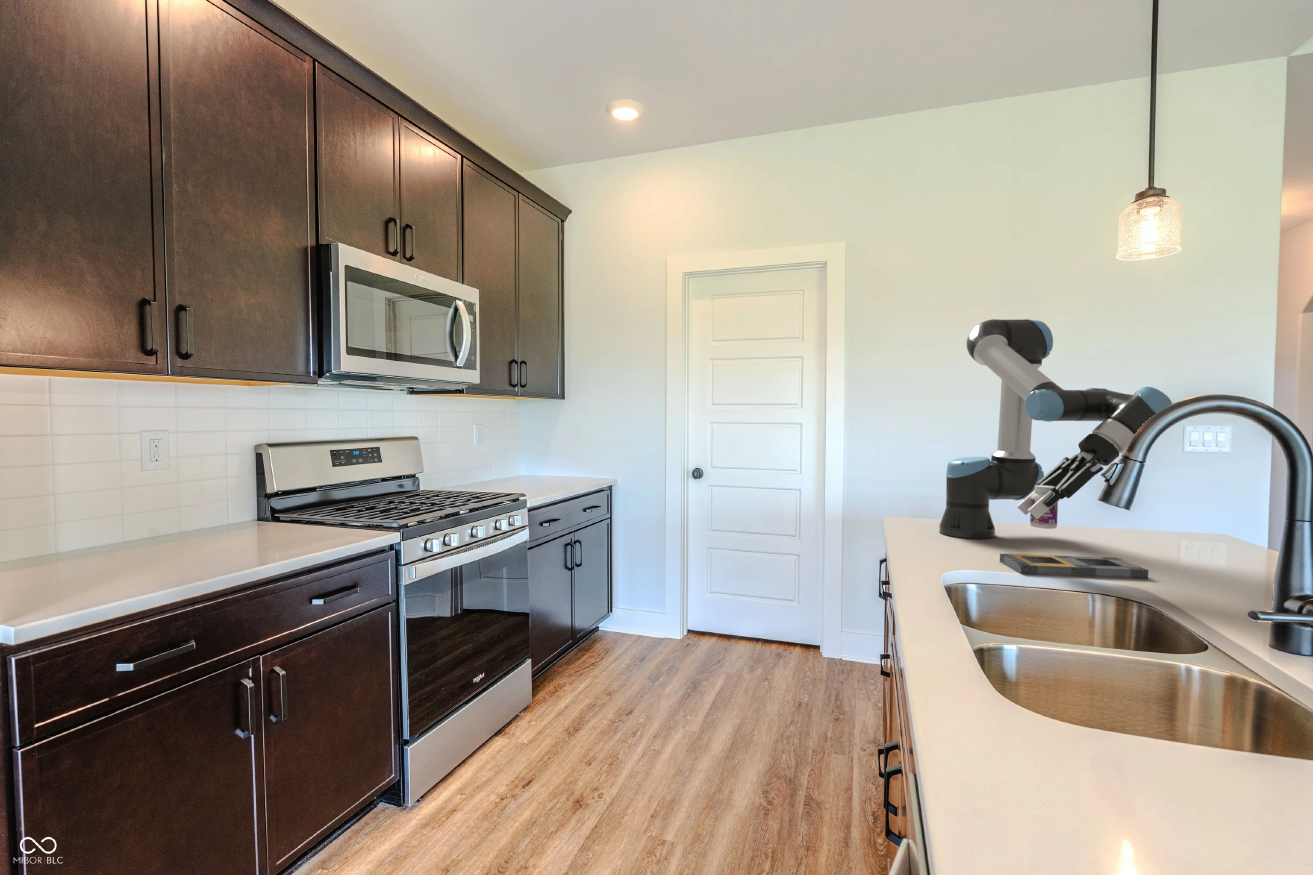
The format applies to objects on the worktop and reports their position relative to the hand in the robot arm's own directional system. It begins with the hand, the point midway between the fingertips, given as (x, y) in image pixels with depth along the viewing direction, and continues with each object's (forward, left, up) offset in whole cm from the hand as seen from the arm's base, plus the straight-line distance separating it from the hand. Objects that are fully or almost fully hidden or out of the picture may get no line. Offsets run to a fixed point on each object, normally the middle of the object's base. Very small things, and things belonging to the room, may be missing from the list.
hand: (1026, 512), depth 143 cm
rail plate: (0, +10, -13) cm, 16 cm away
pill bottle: (0, +4, -4) cm, 5 cm away
